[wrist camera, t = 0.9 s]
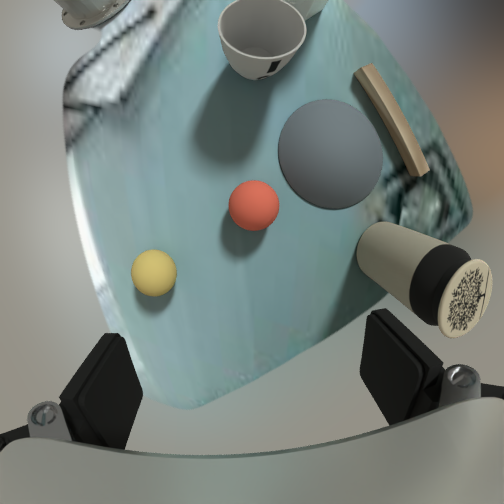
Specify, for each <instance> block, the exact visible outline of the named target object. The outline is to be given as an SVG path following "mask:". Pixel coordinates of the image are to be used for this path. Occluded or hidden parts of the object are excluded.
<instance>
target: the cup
mask: <svg viewBox="0 0 504 504" xmlns="http://www.w3.org/2000/svg"><path fill="white" fill-rule="evenodd" d="M218 31H219V35H220V39H221V44H222V48H223V51H224V54H225V56H226V57H227V59H228V61H229V63H230V65H231V67H232V68H233V69H234V70H235V71H236V72H237V73H239V74H240V75H241V76H243V77H244V78H247V79H250V80H261V79H264V78H267V77H270V76H272V75H274V74H275V73H277V72H278V71H279V70H280V69H281V68H282V67H284V66H285V65H286V64H287V63H288V62H289V61H290V60H291V58H292V57H293V56H294V54H295V53H296V51H297V50H298V49H299V47H300V46H301V44H302V43H303V41H304V39H305V37H306V24H305V21H304V19H303V17H302V15H301V14H300V13H299V11H298V10H297V9H296V8H294V7H293V6H292V5H290V4H289V3H287V2H285V1H283V0H236V1H234V2H232V3H231V4H229V5H228V6H227V7H226V8H225V9H224V10H223V11H222V13H221V15H220V17H219V20H218Z"/></svg>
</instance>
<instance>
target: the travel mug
mask: <svg viewBox="0 0 504 504" xmlns="http://www.w3.org/2000/svg"><path fill="white" fill-rule="evenodd" d="M357 261H358V264H359V267H360V269H361V270H362V271H363V272H364V273H365V274H366V275H367V276H369V277H370V278H371V279H372V280H374V281H375V282H376V283H377V284H379V285H380V286H381V287H382V288H384V289H385V290H386V291H387V292H389V293H390V294H391V295H392V296H394V297H395V298H396V299H397V300H399V301H400V302H401V303H402V304H403V305H405V306H406V307H407V308H408V309H410V310H411V311H412V312H413V313H414V314H416V315H417V316H418V317H419V318H420V319H422V320H423V321H424V322H425V323H427V324H429V325H434V326H439V329H440V331H441V332H442V334H443V335H444V336H446V337H448V338H458V337H460V336H463V335H464V334H466V333H467V332H469V331H470V330H471V329H472V328H473V327H474V326H475V325H476V324H477V323H478V321H479V320H480V318H481V317H482V315H483V313H484V312H485V310H486V308H487V305H488V303H489V299H490V296H491V292H492V274H491V270H490V268H489V266H488V265H487V264H486V263H485V262H484V261H482V260H479V259H474V260H471V258H470V256H469V255H468V253H467V252H466V251H464V250H463V249H461V248H458V247H456V246H453V245H450V244H448V243H445V242H443V241H440V240H438V239H435V238H432V237H430V236H427V235H424V234H421V233H419V232H416V231H413V230H410V229H407V228H405V227H402V226H399V225H396V224H393V223H390V222H378V223H375V224H373V225H372V226H370V227H369V228H368V229H367V230H366V231H365V232H364V233H363V235H362V236H361V238H360V240H359V243H358V246H357Z"/></svg>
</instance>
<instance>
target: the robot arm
mask: <svg viewBox="0 0 504 504" xmlns="http://www.w3.org/2000/svg"><path fill="white" fill-rule="evenodd" d="M54 1H55V2H56V3H57V4H59V5H60V6H61V7H62V8H63V11H62V20H63V22H64V24H65V25H67V26H68V27H69V28H71V29H75V30H82V29H87V28H91V27H94V26H96V25H98V24H100V23H102V22H104V21H106V20H108V19H109V18H111V17H112V16H114V15H115V14H116V13H117V12H119V11H120V10H121V9H122V8H123V7H124V6H125V5H126V4H127V3H128V2H129V0H54ZM442 365H443V362H442V361H441V360H440V359H439V358H438V357H437V356H436V355H435V354H434V353H433V352H432V351H431V350H430V349H429V348H428V347H427V346H426V345H424V343H422V341H421V340H420V339H418V338H417V337H416V336H415V335H414V334H413V333H412V332H411V331H410V330H409V329H408V328H407V327H406V326H404V324H403V323H402V322H400V321H399V320H398V319H397V318H396V317H395V316H394V315H393V314H392V313H391V312H390V311H389V310H387V309H386V308H385V309H379V310H374V311H372V312H371V314H370V315H368V316H367V321H366V329H365V337H364V344H363V352H362V359H361V365H360V376H361V378H362V380H363V382H364V383H365V385H366V387H367V388H368V390H369V392H370V393H371V395H372V397H373V398H374V400H375V402H376V403H377V405H378V407H379V408H380V410H381V412H382V414H383V415H384V417H385V418H386V420H387V422H388V423H389V425H390V426H387V427H383V428H380V429H377V430H374V431H370V432H367V433H363V434H360V435H356V436H352V437H348V438H344V439H340V440H335V441H331V442H326V443H321V444H316V445H310V446H306V447H300V448H292V449H286V450H278V451H270V452H260V453H248V454H231V455H176V454H175V455H174V454H160V453H147V452H139V451H130V450H125V447H126V443H127V440H128V438H129V435H130V432H131V429H132V426H133V423H134V420H135V417H136V414H137V411H138V408H139V406H140V403H141V400H142V397H143V391H142V387H141V385H140V382H139V379H138V377H137V374H136V371H135V368H134V365H133V363H132V360H131V357H130V354H129V351H128V347H127V344H126V341H125V339H124V337H121V336H120V334H118V333H105V334H104V335H103V336H102V337H101V339H100V340H99V341H98V343H97V344H96V345H95V347H94V348H93V349H92V351H91V352H90V353H89V355H88V356H87V358H86V359H85V360H84V362H83V363H82V365H81V366H80V367H79V369H78V370H77V372H76V373H75V375H74V376H73V377H72V379H71V380H70V382H69V383H68V385H67V386H66V388H65V389H64V390H63V392H62V394H61V395H60V397H59V398H60V400H61V403H60V404H59V405H58V404H57V403H55V402H52V401H45V402H41V403H39V404H37V405H35V406H34V407H33V408H32V409H31V410H30V411H29V413H28V418H27V421H28V424H27V425H25V426H22V427H20V428H17V429H14V430H11V431H8V432H6V433H3V434H0V504H504V387H502V386H496V385H489V384H483V383H480V376H479V374H478V372H477V371H476V370H475V369H473V368H472V367H469V366H467V365H463V364H456V365H452V366H450V367H448V368H447V369H446V370H445V369H444V368H443V367H442Z"/></svg>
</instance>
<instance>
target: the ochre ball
mask: <svg viewBox="0 0 504 504" xmlns="http://www.w3.org/2000/svg"><path fill="white" fill-rule="evenodd" d="M131 276H132V280H133V283H134V285H135V286H136V288H137V289H138V290H139V291H140V292H142V293H143V294H145V295H148V296H160V295H163V294H165V293H167V292H168V291H169V290H170V289H171V288H172V287H173V285H174V283H175V281H176V277H177V270H176V266H175V263H174V261H173V260H172V258H171V257H170V256H169V255H168V254H166V253H165V252H162V251H160V250H148V251H145V252H143V253H141V254H140V255H139V256H138V257H137V258H136V259H135V261H134V263H133V265H132V269H131Z"/></svg>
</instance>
